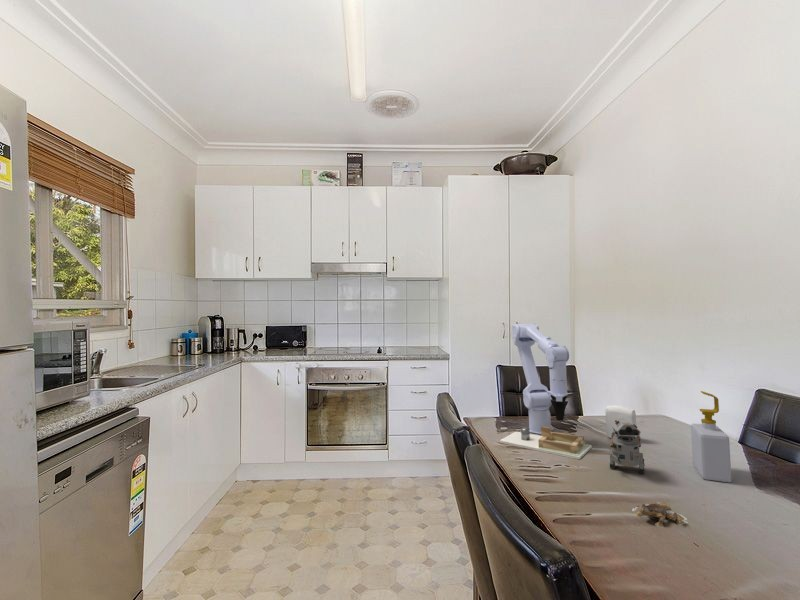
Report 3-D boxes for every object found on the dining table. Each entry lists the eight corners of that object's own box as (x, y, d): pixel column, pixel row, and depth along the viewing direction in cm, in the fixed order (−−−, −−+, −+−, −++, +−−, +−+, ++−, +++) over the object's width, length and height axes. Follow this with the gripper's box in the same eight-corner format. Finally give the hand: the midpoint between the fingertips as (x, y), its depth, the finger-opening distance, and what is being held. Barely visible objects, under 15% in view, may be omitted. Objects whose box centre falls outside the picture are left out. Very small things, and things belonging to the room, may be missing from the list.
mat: (552, 438, 147) (552, 438, 147) (589, 445, 139) (589, 444, 139) (538, 448, 137) (538, 447, 137) (578, 456, 129) (578, 455, 129)
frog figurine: (668, 538, 84) (667, 520, 84) (618, 512, 95) (618, 496, 95) (704, 527, 88) (703, 509, 88) (653, 503, 99) (652, 488, 99)
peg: (523, 437, 149) (523, 426, 149) (531, 439, 147) (530, 428, 147) (520, 439, 147) (519, 428, 147) (527, 441, 145) (527, 430, 145)
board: (515, 433, 157) (515, 431, 157) (591, 447, 139) (591, 445, 139) (499, 442, 146) (499, 440, 146) (579, 459, 128) (579, 456, 128)
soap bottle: (692, 464, 122) (688, 387, 123) (719, 467, 119) (715, 388, 120) (702, 479, 111) (698, 395, 112) (732, 483, 108) (727, 397, 109)
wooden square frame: (547, 437, 148) (546, 422, 148) (584, 443, 140) (583, 428, 140) (536, 446, 138) (535, 430, 138) (575, 453, 130) (574, 436, 130)
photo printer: (604, 437, 149) (603, 404, 150) (609, 435, 152) (608, 402, 153) (634, 444, 141) (632, 409, 142) (639, 441, 144) (637, 406, 145)
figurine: (608, 476, 115) (606, 423, 115) (610, 462, 125) (608, 414, 125) (645, 482, 110) (643, 427, 111) (644, 468, 120) (642, 417, 120)
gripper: (546, 376, 153) (547, 411, 152) (546, 382, 139) (547, 421, 139) (566, 376, 150) (567, 413, 150) (568, 383, 137) (569, 423, 136)
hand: (559, 417), depth 144 cm, fingers open, 7 cm apart
